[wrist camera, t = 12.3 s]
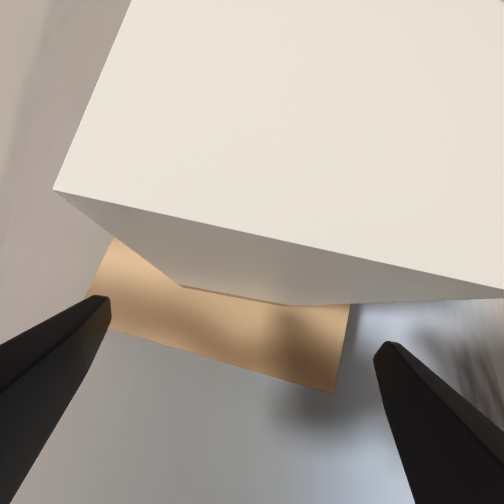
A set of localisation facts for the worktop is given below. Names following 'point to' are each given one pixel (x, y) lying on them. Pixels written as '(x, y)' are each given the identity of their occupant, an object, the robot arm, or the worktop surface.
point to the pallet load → (302, 148)
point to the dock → (222, 322)
